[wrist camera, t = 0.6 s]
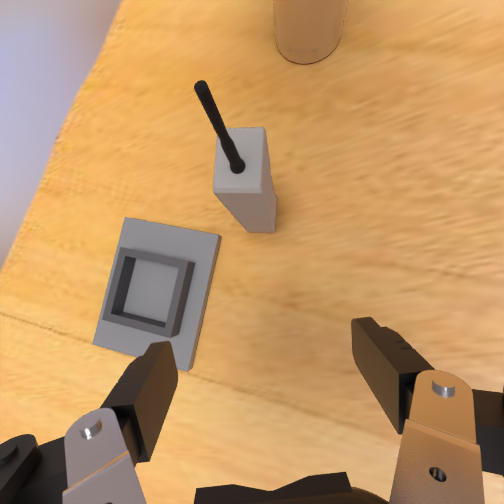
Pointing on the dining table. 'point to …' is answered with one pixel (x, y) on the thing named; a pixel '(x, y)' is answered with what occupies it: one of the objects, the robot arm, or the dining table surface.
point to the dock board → (157, 290)
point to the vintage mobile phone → (241, 170)
